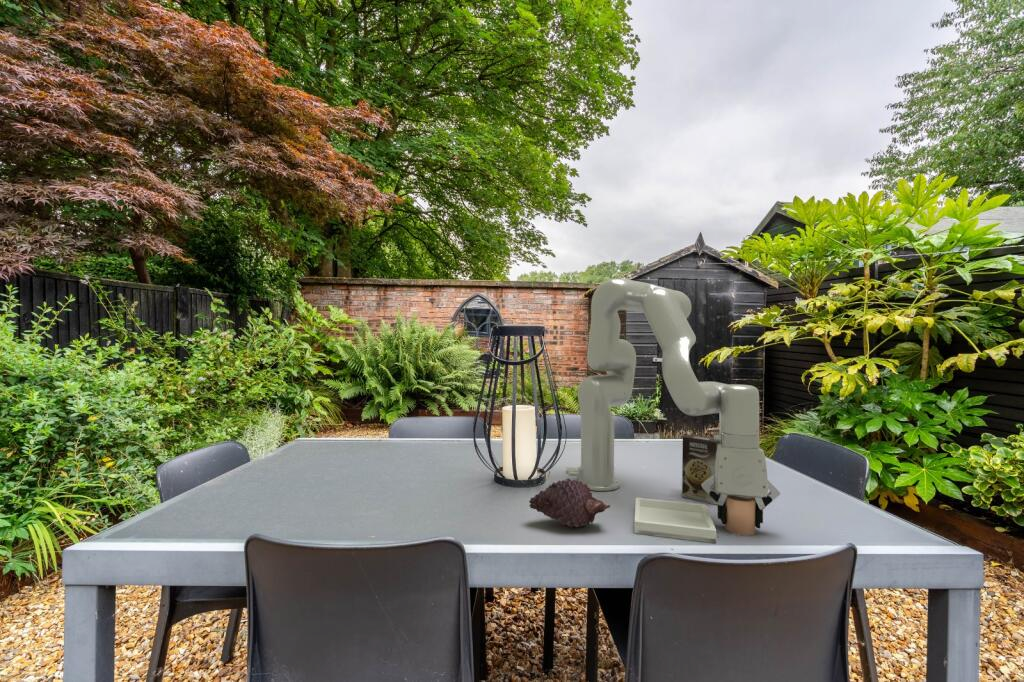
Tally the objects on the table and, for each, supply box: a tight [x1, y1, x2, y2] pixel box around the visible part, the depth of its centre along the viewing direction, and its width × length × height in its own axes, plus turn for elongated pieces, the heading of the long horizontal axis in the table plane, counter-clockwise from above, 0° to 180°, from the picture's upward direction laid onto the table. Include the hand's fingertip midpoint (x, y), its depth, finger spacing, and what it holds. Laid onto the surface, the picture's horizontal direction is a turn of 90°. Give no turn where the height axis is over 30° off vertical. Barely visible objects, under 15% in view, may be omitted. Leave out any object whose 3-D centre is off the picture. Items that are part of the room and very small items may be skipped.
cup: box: [724, 495, 756, 536], centre depth 96 cm, size 6×6×7 cm
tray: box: [634, 497, 717, 544], centre depth 99 cm, size 16×16×2 cm
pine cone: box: [528, 478, 611, 528], centre depth 98 cm, size 18×10×10 cm, turn 83°
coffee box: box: [681, 433, 721, 506], centre depth 117 cm, size 9×6×16 cm
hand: (739, 523), depth 96 cm, fingers closed on cup, 6 cm apart
